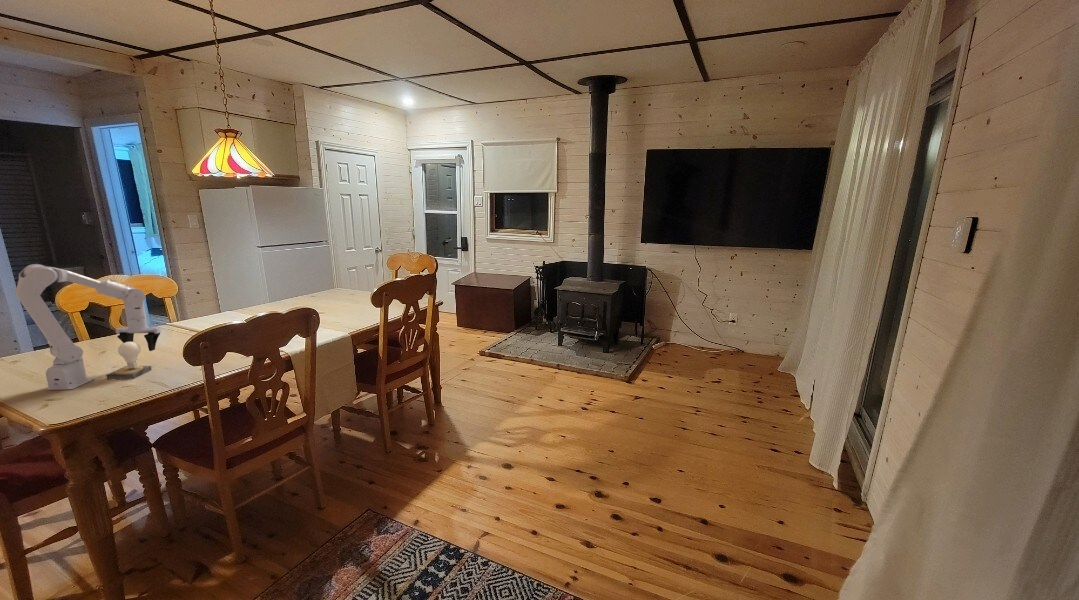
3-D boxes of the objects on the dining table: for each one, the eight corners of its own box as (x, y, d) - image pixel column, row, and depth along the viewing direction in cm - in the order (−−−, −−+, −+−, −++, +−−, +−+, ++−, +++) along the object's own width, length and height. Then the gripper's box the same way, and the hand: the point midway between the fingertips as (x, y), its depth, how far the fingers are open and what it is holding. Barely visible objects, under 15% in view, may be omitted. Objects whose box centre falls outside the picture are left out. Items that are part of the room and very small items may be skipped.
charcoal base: (133, 378, 162) (132, 373, 161) (107, 379, 160) (106, 374, 160) (151, 370, 170) (150, 365, 170) (126, 370, 169) (125, 365, 169)
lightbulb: (142, 364, 170) (138, 338, 168) (144, 368, 166) (140, 342, 164) (120, 368, 166) (115, 341, 163) (122, 373, 161) (117, 345, 159)
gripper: (163, 315, 173) (168, 347, 176) (124, 315, 171) (129, 347, 174) (150, 319, 166) (156, 352, 169) (109, 319, 164) (115, 352, 167)
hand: (141, 350), depth 171 cm, fingers open, 7 cm apart
